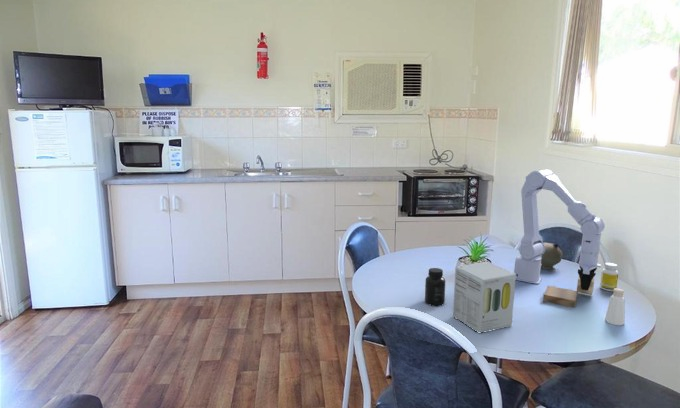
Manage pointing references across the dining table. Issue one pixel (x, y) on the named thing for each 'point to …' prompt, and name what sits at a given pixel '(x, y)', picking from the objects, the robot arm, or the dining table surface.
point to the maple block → (585, 290)
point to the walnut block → (560, 296)
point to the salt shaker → (616, 308)
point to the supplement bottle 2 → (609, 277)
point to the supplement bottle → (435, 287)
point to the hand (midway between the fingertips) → (585, 287)
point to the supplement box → (484, 296)
